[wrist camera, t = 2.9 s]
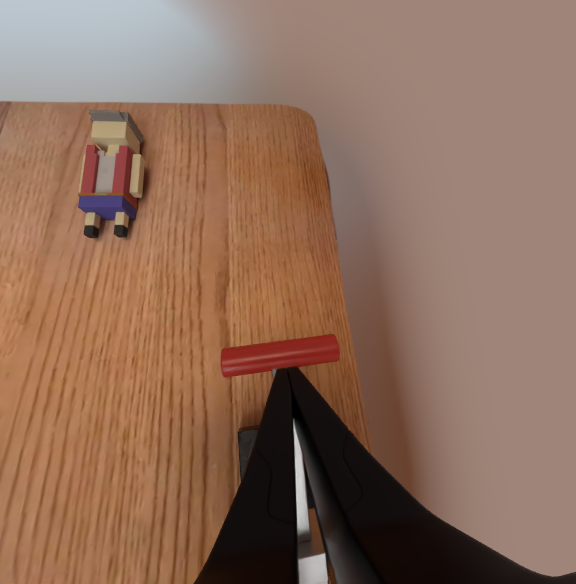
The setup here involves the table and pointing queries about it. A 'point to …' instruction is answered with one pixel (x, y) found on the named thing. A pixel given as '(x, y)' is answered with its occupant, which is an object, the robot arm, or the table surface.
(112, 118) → the toy
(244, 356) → the lever
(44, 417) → the table surface
